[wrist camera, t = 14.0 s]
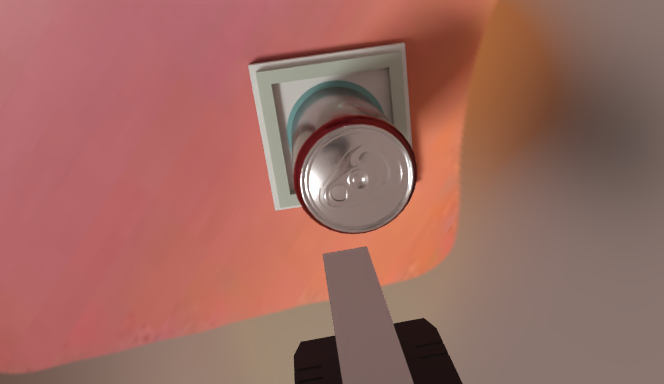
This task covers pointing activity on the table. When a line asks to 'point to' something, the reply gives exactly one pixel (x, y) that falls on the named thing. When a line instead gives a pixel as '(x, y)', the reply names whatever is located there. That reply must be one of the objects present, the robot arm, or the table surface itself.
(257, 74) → the base plate
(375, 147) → the soda can
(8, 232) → the table surface
